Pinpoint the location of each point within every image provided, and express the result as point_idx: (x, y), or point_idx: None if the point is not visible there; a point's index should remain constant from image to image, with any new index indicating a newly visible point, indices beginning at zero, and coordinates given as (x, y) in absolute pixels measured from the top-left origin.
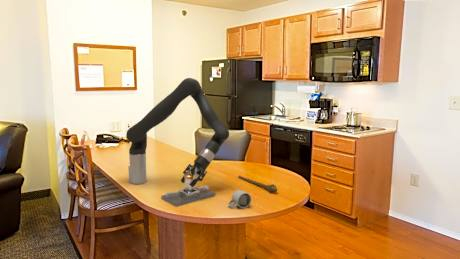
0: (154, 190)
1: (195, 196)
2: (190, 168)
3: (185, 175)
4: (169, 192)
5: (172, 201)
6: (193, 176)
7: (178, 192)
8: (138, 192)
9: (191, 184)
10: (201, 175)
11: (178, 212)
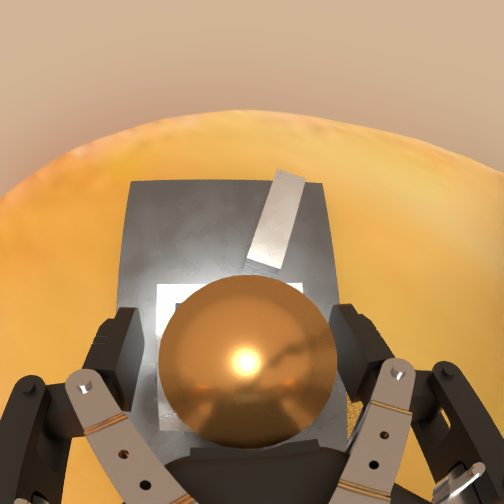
0: (451, 238)
1: (148, 368)
2: (444, 485)
3: (280, 305)
4: (288, 200)
5: (178, 180)
6: (181, 415)
7: (247, 256)
8: (445, 169)
9: (118, 315)
10: (2, 435)
11: (71, 165)
